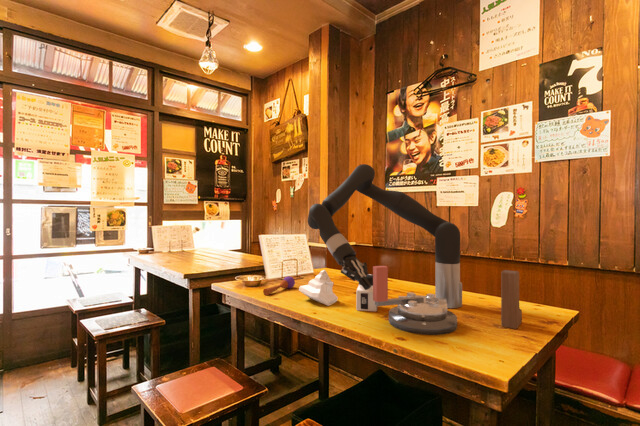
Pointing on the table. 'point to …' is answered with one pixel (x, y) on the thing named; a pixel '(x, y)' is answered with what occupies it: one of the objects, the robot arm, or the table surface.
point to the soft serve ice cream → (320, 289)
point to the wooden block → (510, 299)
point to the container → (365, 297)
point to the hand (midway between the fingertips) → (368, 288)
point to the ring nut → (408, 300)
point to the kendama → (281, 285)
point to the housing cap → (423, 324)
